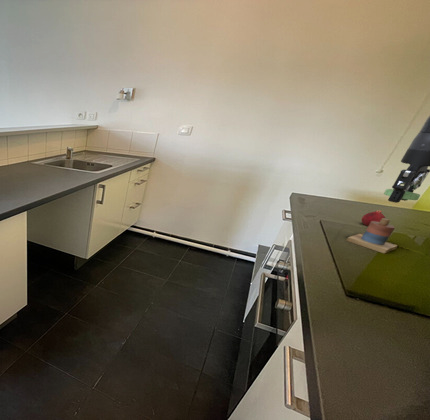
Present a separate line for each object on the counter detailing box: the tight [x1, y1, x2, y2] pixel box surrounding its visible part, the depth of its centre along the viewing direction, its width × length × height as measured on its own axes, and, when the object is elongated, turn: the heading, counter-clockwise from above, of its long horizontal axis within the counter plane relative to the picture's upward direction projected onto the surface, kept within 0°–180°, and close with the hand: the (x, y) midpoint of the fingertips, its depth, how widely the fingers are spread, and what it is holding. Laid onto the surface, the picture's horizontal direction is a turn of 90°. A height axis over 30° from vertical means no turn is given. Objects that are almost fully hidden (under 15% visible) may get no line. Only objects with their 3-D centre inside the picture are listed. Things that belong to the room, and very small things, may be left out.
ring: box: [383, 188, 421, 201], centre depth 79 cm, size 7×7×2 cm
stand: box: [346, 217, 398, 255], centre depth 84 cm, size 9×9×10 cm
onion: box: [361, 209, 386, 227], centre depth 98 cm, size 6×6×8 cm
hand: (397, 200), depth 79 cm, fingers closed on ring, 6 cm apart
